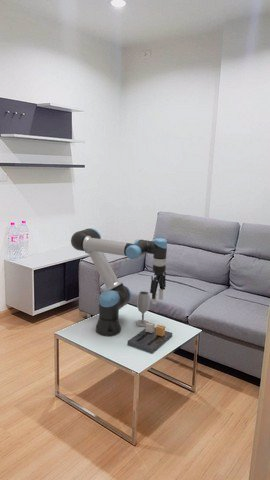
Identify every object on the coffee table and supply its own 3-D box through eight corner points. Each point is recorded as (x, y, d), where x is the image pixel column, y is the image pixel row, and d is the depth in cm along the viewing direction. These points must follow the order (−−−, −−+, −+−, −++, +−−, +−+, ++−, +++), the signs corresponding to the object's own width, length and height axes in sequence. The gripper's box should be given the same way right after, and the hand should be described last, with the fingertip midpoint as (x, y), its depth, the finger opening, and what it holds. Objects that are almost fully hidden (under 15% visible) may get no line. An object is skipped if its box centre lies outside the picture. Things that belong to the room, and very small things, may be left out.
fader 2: (155, 334, 210) (156, 326, 209) (158, 332, 213) (158, 324, 212) (162, 336, 208) (162, 328, 207) (164, 334, 211) (165, 326, 209)
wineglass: (148, 327, 225) (149, 295, 220) (134, 326, 226) (135, 294, 222) (150, 322, 233) (152, 291, 229) (137, 320, 235) (138, 289, 230)
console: (127, 344, 203) (127, 340, 202) (148, 329, 223) (149, 325, 222) (152, 353, 195) (152, 349, 194) (172, 336, 215) (172, 332, 214)
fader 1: (145, 331, 214) (145, 322, 213) (147, 329, 216) (148, 321, 215) (151, 333, 212) (152, 324, 211) (154, 331, 214) (154, 323, 213)
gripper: (156, 270, 202) (154, 308, 206) (172, 262, 219) (170, 298, 223) (144, 267, 205) (143, 305, 210) (161, 260, 222) (159, 295, 227)
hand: (157, 301), depth 217 cm, fingers open, 8 cm apart
